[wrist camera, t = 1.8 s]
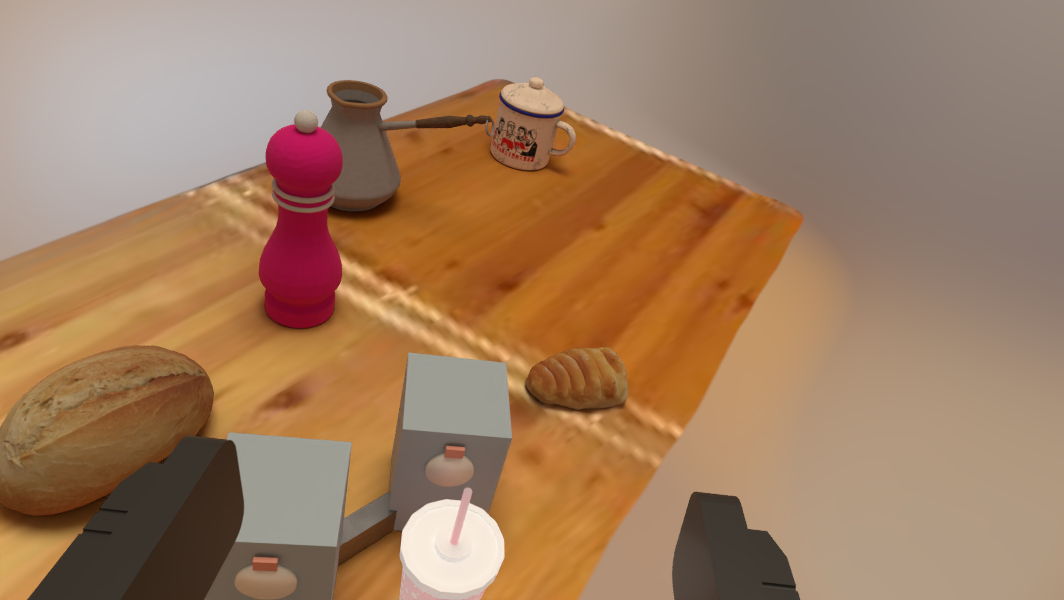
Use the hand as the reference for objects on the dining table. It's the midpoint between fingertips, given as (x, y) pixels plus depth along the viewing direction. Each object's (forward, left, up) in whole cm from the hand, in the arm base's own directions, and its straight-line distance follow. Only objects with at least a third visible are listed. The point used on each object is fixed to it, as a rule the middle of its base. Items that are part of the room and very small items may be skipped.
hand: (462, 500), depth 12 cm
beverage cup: (+13, +9, -35) cm, 39 cm away
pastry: (+38, +18, -35) cm, 55 cm away
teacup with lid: (+66, +54, -35) cm, 92 cm away
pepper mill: (+22, +41, -35) cm, 58 cm away
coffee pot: (+40, +52, -35) cm, 75 cm away
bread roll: (+3, +33, -35) cm, 49 cm away
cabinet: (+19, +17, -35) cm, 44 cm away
